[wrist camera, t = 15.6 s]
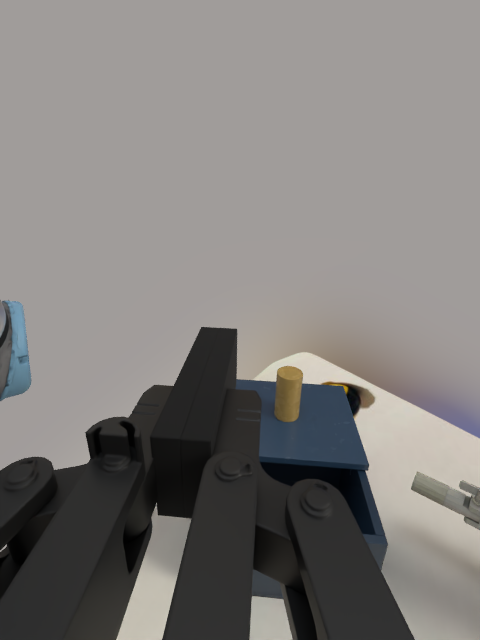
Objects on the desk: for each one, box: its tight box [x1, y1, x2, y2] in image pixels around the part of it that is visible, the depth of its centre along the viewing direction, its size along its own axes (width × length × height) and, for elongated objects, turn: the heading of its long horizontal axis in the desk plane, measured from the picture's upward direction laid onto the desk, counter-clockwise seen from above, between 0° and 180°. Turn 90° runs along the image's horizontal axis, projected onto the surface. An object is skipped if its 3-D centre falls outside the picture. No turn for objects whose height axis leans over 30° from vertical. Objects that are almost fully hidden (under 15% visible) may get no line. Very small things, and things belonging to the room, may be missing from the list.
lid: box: [236, 366, 369, 470], centre depth 41 cm, size 16×14×7 cm
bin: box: [252, 462, 388, 599], centre depth 37 cm, size 16×14×9 cm
